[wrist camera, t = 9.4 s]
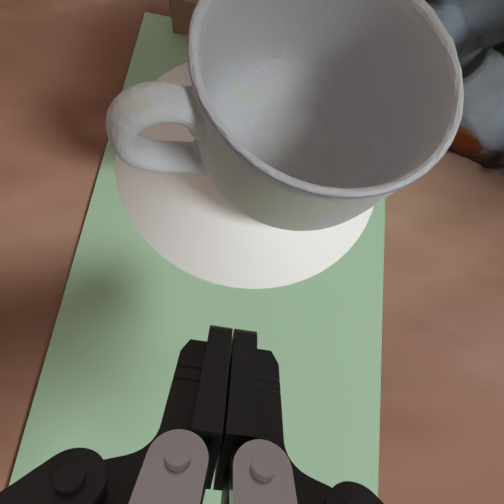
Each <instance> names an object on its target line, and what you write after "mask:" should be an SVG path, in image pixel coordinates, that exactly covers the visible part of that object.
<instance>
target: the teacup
mask: <svg viewBox="0 0 504 504" xmlns="http://www.w3.org/2000/svg"><path fill="white" fill-rule="evenodd" d="M187 53H188V68H189V74H190V78H191V86H184V85H181V84H179V83H174V82H168V81H151V82H144V83H139V84H136V85H133V86H131V87H129V88H127V89H125V90H123V91H122V92H121V93H120V94H119V95H118V96H116V97H115V98H114V99H113V101H112V103H111V104H110V106H109V108H108V111H107V114H106V132H107V136H108V138H109V141H110V144H111V146H112V149H113V150H114V151H115V153H116V154H117V155H118V156H119V158H120V159H121V160H123V161H124V162H126V163H127V164H129V165H131V166H132V167H135V168H139V169H142V170H147V171H151V172H164V173H191V174H193V175H196V176H205V175H207V176H209V178H210V179H211V181H212V182H213V184H214V185H215V186H216V188H217V189H218V191H219V192H220V193H221V194H222V195H223V196H224V197H225V198H226V199H227V200H228V201H229V203H230V204H231V205H233V206H234V207H235V208H236V209H238V210H239V211H240V212H242V213H243V214H245V215H246V216H248V217H250V218H252V219H254V220H256V221H258V222H260V223H263V224H266V225H268V226H271V227H275V228H279V229H285V230H291V231H313V230H321V229H325V228H329V227H333V226H336V225H339V224H341V223H344V222H346V221H348V220H350V219H352V218H354V217H356V216H358V215H360V214H361V213H363V212H365V211H367V210H368V209H370V208H371V207H373V206H374V205H376V204H377V203H379V202H380V201H382V200H383V199H385V198H386V197H388V196H389V195H390V194H392V193H393V192H395V191H397V190H399V189H402V188H404V187H406V186H407V185H409V184H411V183H412V182H414V181H416V180H417V179H419V178H421V177H422V176H423V175H424V174H426V173H427V172H428V171H429V170H430V169H432V168H433V167H434V166H435V165H436V163H437V162H438V161H439V160H440V159H441V158H442V157H443V156H444V154H445V153H446V151H447V150H448V148H449V147H450V145H451V144H452V142H453V139H454V137H455V135H456V133H457V130H458V127H459V125H460V121H461V118H462V112H463V101H464V88H463V78H462V69H461V66H460V63H459V60H458V56H457V51H456V47H455V44H454V41H453V38H452V37H451V36H450V35H449V34H448V32H447V31H446V29H445V27H444V25H443V24H442V23H441V21H440V20H439V18H438V16H437V15H436V13H435V11H434V10H433V8H432V7H431V6H430V5H429V4H428V3H427V2H426V1H425V0H198V2H197V4H196V6H195V8H194V10H193V13H192V16H191V20H190V25H189V30H188V39H187ZM164 123H177V124H181V125H183V126H185V127H186V128H187V129H188V130H189V132H190V133H191V135H192V136H193V137H195V140H194V141H192V142H183V141H162V140H156V139H151V138H147V137H144V136H141V135H138V134H139V133H140V132H141V131H143V130H144V129H146V128H148V127H150V126H154V125H157V124H164Z"/></svg>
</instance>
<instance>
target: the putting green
mask: <svg viewBox="0 0 504 504" xmlns="http://www.w3.org/2000/svg"><path fill="white" fill-rule="evenodd" d="M169 1H170V10H171V17H168V16H163V15H158V14H153V13H149V12H145V13H144V17H143V20H142V24H141V27H140V31H139V34H138V38H137V41H136V45H135V48H134V52H133V55H132V59H131V62H130V66H129V69H128V73H127V76H126V79H125V83H124V86H123V90H125V89H127V88H129V87H131V86H133V85H136V84H139V83H144V82H151V81H168V82H174V83H179V84H181V85H184V86H191V78H190V74H189V68H188V53H187V39H188V30H189V25H190V20H191V16H192V13H193V10H194V8H195V6H196V4H197V2H198V0H169ZM123 90H122V91H123ZM138 135H141V136H144V137H147V138H151V139H156V140H162V141H183V142H192V141H194V140H195V137H193V136H192V135H191V133H190V132H189V130H188V129H187V128H186V127H185V126H183V125H181V124H177V123H164V124H157V125H154V126H150V127H148V128H146V129H144V130H143V131H141V132H140V133H139V134H138ZM384 225H385V199H383V200H382V201H380V202H379V203H377V204H376V205H374V206H373V207H371V208H370V209H368V210H367V211H365V212H363V213H361V214H360V215H358V216H356V217H354V218H352V219H350V220H348V221H346V222H344V223H341V224H339V225H336V226H333V227H329V228H325V229H321V230H313V231H291V230H285V229H279V228H275V227H271V226H268V225H266V224H263V223H260V222H258V221H256V220H254V219H252V218H250V217H248V216H246V215H245V214H243V213H242V212H240V211H239V210H238V209H236V208H235V207H234V206H233V205H231V204H230V203H229V201H228V200H227V199H226V198H225V197H224V196H223V195H222V194H221V193H220V192H219V191H218V189H217V188H216V186H215V185H214V184H213V182H212V181H211V179H210V178H209V176H207V175H205V176H196V175H193V174H191V173H164V172H151V171H147V170H142V169H139V168H135V167H132V166H131V165H129V164H127V163H126V162H124V161H123V160H121V159H120V158H119V156H118V155H117V154H116V153H115V151H114V150H113V149H112V146H111V144H110V141H109V139H108V142H107V146H106V149H105V153H104V156H103V159H102V163H101V166H100V170H99V173H98V177H97V180H96V184H95V187H94V191H93V194H92V198H91V201H90V205H89V208H88V212H87V215H86V219H85V222H84V226H83V229H82V233H81V236H80V240H79V243H78V246H77V250H76V253H75V257H74V260H73V264H72V267H71V271H70V274H69V278H68V281H67V285H66V288H65V292H64V295H63V299H62V302H61V306H60V309H59V313H58V316H57V320H56V323H55V326H54V330H53V333H52V337H51V340H50V344H49V347H48V351H47V354H46V358H45V361H44V365H43V368H42V372H41V375H40V379H39V382H38V386H37V389H36V393H35V396H34V400H33V403H32V407H31V410H30V413H29V417H28V420H27V424H26V427H25V431H24V434H23V438H22V441H21V445H20V448H19V452H18V455H17V459H16V462H15V466H14V469H13V473H12V476H11V480H10V483H9V486H10V485H12V484H13V483H14V482H16V481H17V480H19V479H20V478H22V477H23V476H25V475H26V474H28V473H29V472H31V471H32V470H34V469H35V468H37V467H38V466H40V465H41V464H43V463H44V462H45V461H47V460H48V459H50V458H51V457H53V456H55V455H56V454H58V453H60V452H62V451H64V450H68V449H71V448H88V449H91V450H94V451H95V452H97V453H98V454H99V455H100V456H101V457H102V458H103V460H104V459H109V458H114V457H119V456H124V455H128V454H131V453H134V452H136V451H138V450H140V449H142V448H144V447H145V446H146V445H147V444H149V443H150V442H151V441H152V440H153V438H154V437H155V436H156V434H157V432H158V430H159V428H160V425H161V421H162V418H163V414H164V410H165V406H166V403H167V399H168V395H169V391H170V388H171V384H172V380H173V376H174V373H175V369H176V366H177V361H178V358H179V354H180V350H181V349H182V348H183V347H184V346H185V345H186V344H187V343H188V341H189V340H190V339H193V340H200V341H207V340H208V334H209V329H210V325H215V326H221V327H228V328H233V331H232V337H233V332H234V328H235V329H242V330H249V331H256V332H257V349H262V350H269V351H272V353H273V355H274V357H275V358H276V360H277V362H278V364H279V376H280V380H279V382H280V394H281V405H282V420H283V435H284V445H285V449H286V452H287V454H288V456H289V458H290V459H291V461H292V462H293V463H294V465H295V466H296V467H297V468H298V469H299V470H300V471H302V472H303V473H304V474H306V475H308V476H309V477H311V478H313V479H315V480H318V481H320V482H322V483H324V484H326V485H328V486H330V487H332V488H333V487H334V486H335V485H336V484H338V483H340V482H344V481H352V482H356V483H359V484H361V485H363V486H365V487H367V488H368V489H369V490H371V491H372V492H373V493H374V494H375V495H376V496H377V497H378V470H379V429H380V388H381V348H382V307H383V266H384ZM214 476H215V471H214ZM214 476H213V480H212V485H211V490H209V489H206V490H205V495H204V500H203V504H221V495H222V491H220V490H213V486H214Z"/></svg>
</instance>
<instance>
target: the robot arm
mask: <svg viewBox="0 0 504 504" xmlns="http://www.w3.org/2000/svg"><path fill="white" fill-rule="evenodd" d="M232 331H233V328H228V327H221V326H215V325H210V329H209V334H208V340H207V341H200V340H193V339H190V340H189V341H188V343H187V344H186V345H185V346H184V347H183V348H182V349H181V350H180V354H179V358H178V361H177V366H176V369H175V373H174V376H173V380H172V384H171V388H170V391H169V395H168V399H167V403H166V406H165V410H164V414H163V418H162V421H161V425H160V428H159V430H158V432H157V434H156V436H155V437H154V438H153V440H152V441H151V442H150V443H149V444H147V445H146V446H145V447H144V448H142V449H140V450H138V451H136V452H134V453H131V454H128V455H124V456H119V457H114V458H109V459H104V460H103V458H102V457H101V456H100V455H99V454H98V453H97V452H95V451H94V450H91V449H88V448H71V449H68V450H64V451H62V452H60V453H58V454H56V455H55V456H53V457H51V458H50V459H48V460H47V461H45V462H44V463H43V464H41V465H40V466H38V467H37V468H35V469H34V470H32V471H31V472H29V473H28V474H26V475H25V476H23V477H22V478H20V479H19V480H17V481H16V482H14V483H13V484H12V485H10V486H9V487H7V488H6V489H4V490H3V491H1V492H0V504H203V500H204V495H205V490H206V489H209V490H211V485H212V480H213V476H214V471H215V476H214V486H213V490H220V491H222V495H221V504H383V503H382V501H381V500H380V499H379V498H378V497H377V496H376V495H375V494H374V493H373V492H372V491H371V490H369V489H368V488H367V487H365V486H363V485H361V484H359V483H356V482H352V481H344V482H340V483H338V484H336V485H335V486H334V487H333V488H332V487H330V486H328V485H326V484H324V483H322V482H320V481H318V480H315V479H313V478H311V477H309V476H308V475H306V474H304V473H303V472H302V471H300V470H299V469H298V468H297V467H296V466H295V465H294V463H293V462H292V461H291V459H290V458H289V456H288V454H287V452H286V449H285V445H284V435H283V420H282V405H281V394H280V382H279V380H280V376H279V364H278V362H277V360H276V358H275V357H274V355H273V353H272V351H269V350H262V349H257V332H256V331H249V330H242V329H235V328H234V332H233V337H232Z"/></svg>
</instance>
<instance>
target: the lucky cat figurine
mask: <svg viewBox="0 0 504 504" xmlns="http://www.w3.org/2000/svg"><path fill="white" fill-rule="evenodd" d="M425 1H426V2H427V3H428V4H429V5H430V6H431V7H432V8H433V10H434V11H435V13H436V15H437V16H438V18H439V20H440V21H441V23H442V24H443V25H444V27H445V29H446V31H447V32H448V34H449V35H450V36H451V37H452V38H453V41H454V44H455V47H456V51H457V56H458V60H459V63H460V66H461V69H462V78H463V88H464V101H463V112H462V118H461V121H460V125H459V127H458V130H457V133H456V135H455V137H454V139H453V142H452V144H451V145H450V147H449V149H451V150H452V151H454V152H456V153H458V154H460V155H462V156H464V157H467V158H469V159H471V160H473V161H475V162H477V163H479V164H481V165H483V166H485V167H488V168H494V169H497V170H499V171H500V172H501V173H502V176H504V0H425Z"/></svg>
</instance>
